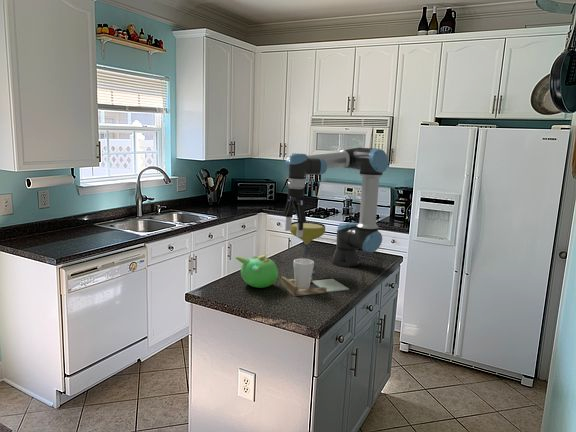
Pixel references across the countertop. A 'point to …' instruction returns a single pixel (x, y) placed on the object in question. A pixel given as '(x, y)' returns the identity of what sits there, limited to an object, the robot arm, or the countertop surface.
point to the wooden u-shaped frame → (294, 290)
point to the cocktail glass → (309, 232)
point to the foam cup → (303, 272)
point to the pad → (330, 285)
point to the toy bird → (258, 271)
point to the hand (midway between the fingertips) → (293, 233)
